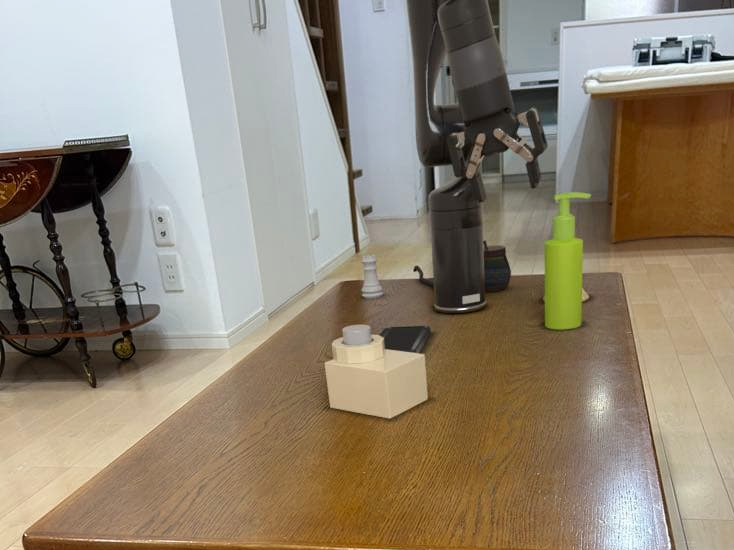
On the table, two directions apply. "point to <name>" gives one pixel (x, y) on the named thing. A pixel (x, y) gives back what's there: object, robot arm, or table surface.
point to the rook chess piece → (370, 278)
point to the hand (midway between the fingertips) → (508, 194)
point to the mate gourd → (496, 268)
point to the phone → (405, 338)
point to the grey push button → (357, 335)
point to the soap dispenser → (564, 269)
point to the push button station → (375, 378)
